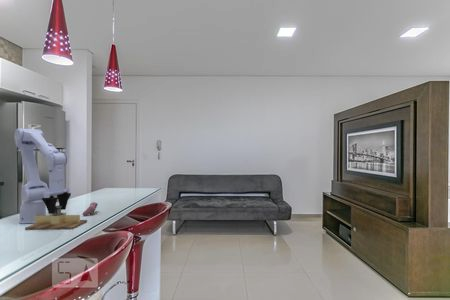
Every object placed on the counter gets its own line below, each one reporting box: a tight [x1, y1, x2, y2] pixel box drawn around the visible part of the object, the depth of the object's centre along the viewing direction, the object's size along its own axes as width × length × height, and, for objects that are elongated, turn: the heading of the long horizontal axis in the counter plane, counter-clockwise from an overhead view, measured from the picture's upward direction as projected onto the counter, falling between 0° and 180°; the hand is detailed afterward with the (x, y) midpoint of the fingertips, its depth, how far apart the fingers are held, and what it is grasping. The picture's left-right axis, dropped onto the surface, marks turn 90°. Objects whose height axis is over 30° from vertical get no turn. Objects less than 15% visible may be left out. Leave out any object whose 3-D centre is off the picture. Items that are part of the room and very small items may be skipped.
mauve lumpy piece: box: [82, 202, 99, 217], centre depth 137 cm, size 10×5×7 cm, turn 17°
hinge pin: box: [54, 204, 62, 216], centre depth 115 cm, size 3×3×8 cm
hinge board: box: [24, 219, 88, 231], centre depth 115 cm, size 20×11×1 cm, turn 90°
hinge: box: [34, 212, 81, 226], centre depth 115 cm, size 19×6×4 cm, turn 90°
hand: (57, 211), depth 115 cm, fingers open, 7 cm apart
